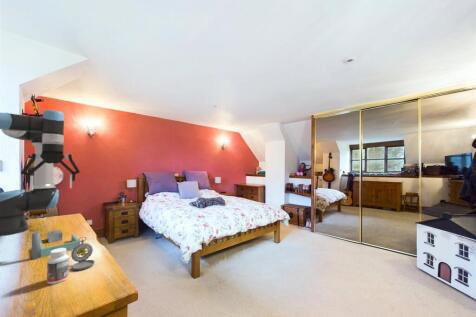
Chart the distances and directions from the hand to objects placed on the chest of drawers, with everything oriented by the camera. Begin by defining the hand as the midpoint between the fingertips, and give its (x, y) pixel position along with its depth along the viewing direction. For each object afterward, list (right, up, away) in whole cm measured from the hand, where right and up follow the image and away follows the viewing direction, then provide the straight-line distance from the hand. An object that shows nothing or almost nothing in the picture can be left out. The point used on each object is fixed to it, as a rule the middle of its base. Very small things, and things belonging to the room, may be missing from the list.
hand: (52, 189), depth 97 cm
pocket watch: (+29, -26, -18) cm, 43 cm away
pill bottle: (+27, -26, -28) cm, 47 cm away
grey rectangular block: (-6, -27, +9) cm, 29 cm away
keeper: (+4, -27, -3) cm, 27 cm away
